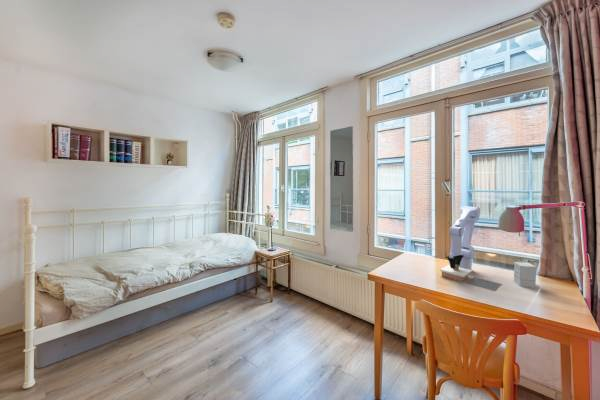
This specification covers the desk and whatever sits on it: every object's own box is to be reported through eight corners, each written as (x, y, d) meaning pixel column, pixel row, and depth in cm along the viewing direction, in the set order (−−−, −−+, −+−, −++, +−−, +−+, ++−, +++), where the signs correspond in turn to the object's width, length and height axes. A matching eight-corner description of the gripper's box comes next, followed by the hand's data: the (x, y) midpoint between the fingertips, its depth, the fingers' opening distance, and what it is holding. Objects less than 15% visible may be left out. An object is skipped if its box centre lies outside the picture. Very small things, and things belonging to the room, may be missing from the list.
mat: (473, 277, 155) (474, 276, 155) (502, 285, 144) (502, 284, 144) (465, 284, 146) (465, 283, 146) (495, 292, 135) (495, 291, 135)
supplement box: (528, 283, 145) (529, 262, 144) (535, 288, 138) (537, 267, 137) (512, 282, 148) (514, 261, 147) (519, 287, 141) (520, 265, 140)
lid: (448, 266, 164) (449, 260, 164) (471, 271, 154) (471, 265, 154) (440, 271, 156) (440, 264, 156) (463, 277, 146) (463, 270, 146)
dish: (448, 272, 164) (448, 266, 163) (467, 277, 155) (468, 271, 155) (441, 277, 157) (441, 270, 156) (461, 282, 148) (461, 276, 148)
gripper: (458, 249, 147) (457, 271, 148) (467, 244, 156) (466, 265, 157) (445, 246, 152) (445, 268, 153) (455, 242, 161) (454, 262, 162)
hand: (455, 266), depth 155 cm, fingers open, 7 cm apart
